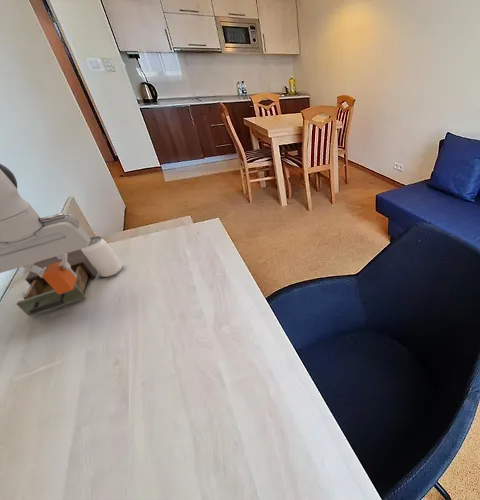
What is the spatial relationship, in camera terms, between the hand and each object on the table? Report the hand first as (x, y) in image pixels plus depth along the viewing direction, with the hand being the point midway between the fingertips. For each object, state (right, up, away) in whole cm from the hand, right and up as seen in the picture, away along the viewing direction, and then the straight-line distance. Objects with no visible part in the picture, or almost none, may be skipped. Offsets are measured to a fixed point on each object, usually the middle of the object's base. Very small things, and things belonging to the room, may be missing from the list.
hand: (56, 272), depth 75 cm
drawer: (-13, -8, +15) cm, 21 cm away
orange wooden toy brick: (0, -3, +3) cm, 5 cm away
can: (-5, -2, +24) cm, 25 cm away
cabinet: (-19, -2, +26) cm, 32 cm away
